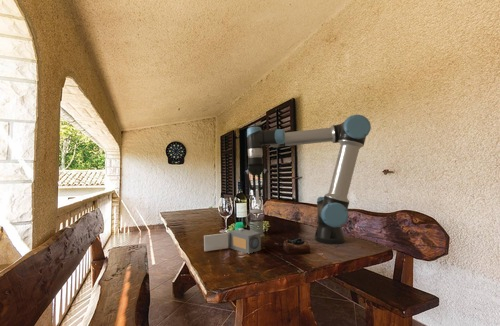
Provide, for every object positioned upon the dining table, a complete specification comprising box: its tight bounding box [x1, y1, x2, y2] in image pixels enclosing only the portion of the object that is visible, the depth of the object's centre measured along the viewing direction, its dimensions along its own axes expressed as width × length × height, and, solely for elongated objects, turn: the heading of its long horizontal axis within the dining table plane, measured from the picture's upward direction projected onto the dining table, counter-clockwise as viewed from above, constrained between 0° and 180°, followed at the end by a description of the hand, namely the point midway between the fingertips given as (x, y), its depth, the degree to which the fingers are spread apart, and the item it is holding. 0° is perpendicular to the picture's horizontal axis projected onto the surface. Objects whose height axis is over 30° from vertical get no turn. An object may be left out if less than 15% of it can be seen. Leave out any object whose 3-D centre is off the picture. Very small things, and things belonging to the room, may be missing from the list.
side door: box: [203, 232, 231, 252], centre depth 116 cm, size 13×2×7 cm, turn 113°
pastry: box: [282, 237, 311, 255], centre depth 113 cm, size 11×12×6 cm
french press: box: [245, 208, 266, 238], centre depth 144 cm, size 10×12×25 cm
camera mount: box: [234, 221, 244, 230], centre depth 132 cm, size 12×8×10 cm, turn 17°
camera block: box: [228, 227, 262, 255], centre depth 117 cm, size 16×8×9 cm, turn 45°
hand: (257, 203), depth 124 cm, fingers closed
